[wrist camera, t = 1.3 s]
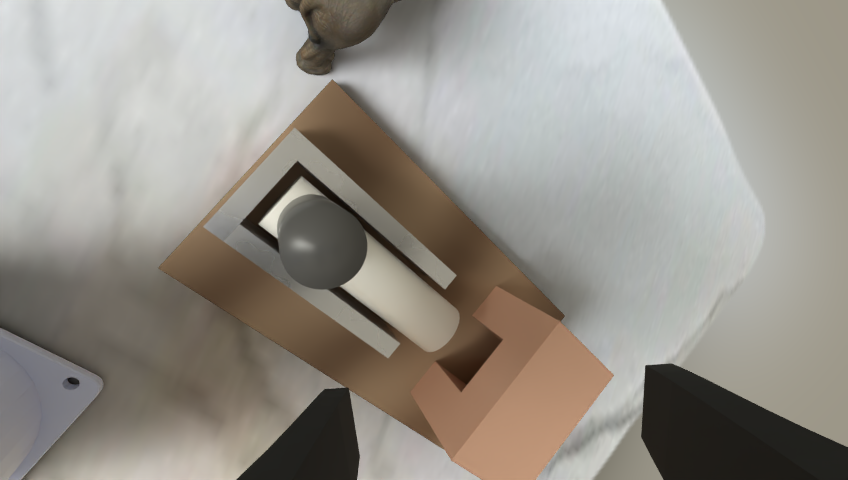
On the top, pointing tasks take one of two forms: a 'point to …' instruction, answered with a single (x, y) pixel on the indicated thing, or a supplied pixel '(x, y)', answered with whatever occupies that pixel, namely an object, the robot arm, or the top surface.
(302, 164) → the channel
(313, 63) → the rhino figurine
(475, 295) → the board
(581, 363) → the socket
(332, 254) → the bolt
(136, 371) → the top surface
